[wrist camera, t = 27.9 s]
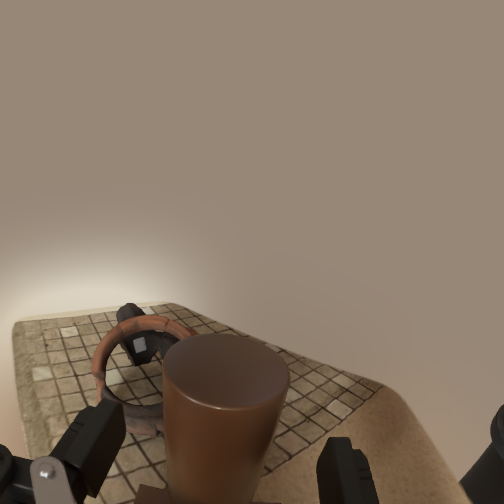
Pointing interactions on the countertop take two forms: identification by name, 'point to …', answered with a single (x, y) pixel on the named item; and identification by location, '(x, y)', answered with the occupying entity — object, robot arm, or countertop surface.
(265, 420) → the brush
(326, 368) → the countertop surface
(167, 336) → the pottery mug
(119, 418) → the robot arm
